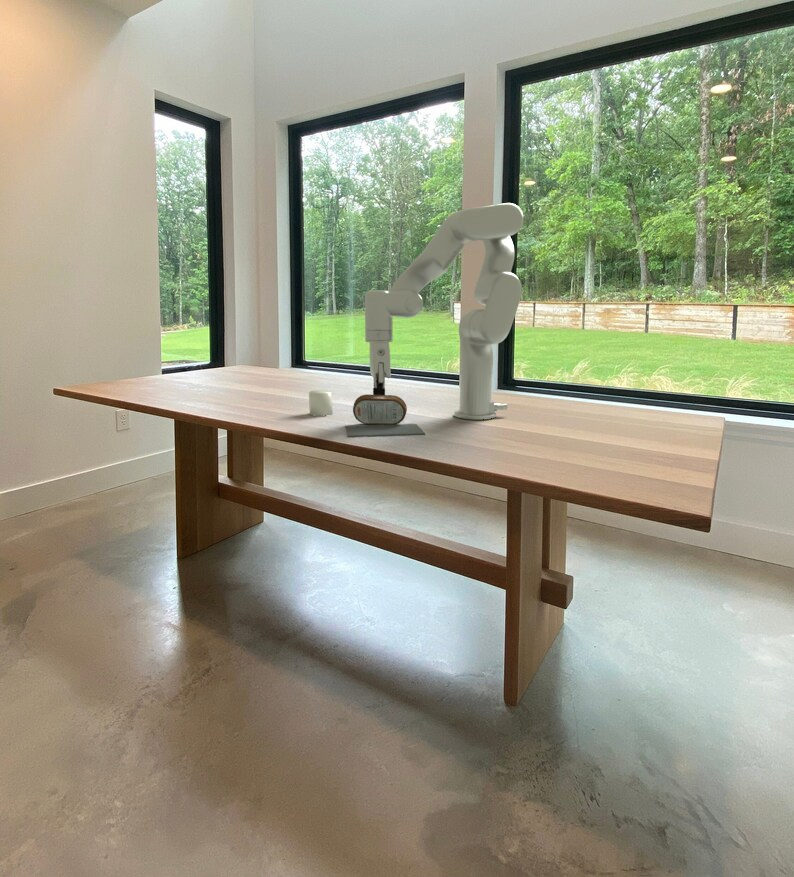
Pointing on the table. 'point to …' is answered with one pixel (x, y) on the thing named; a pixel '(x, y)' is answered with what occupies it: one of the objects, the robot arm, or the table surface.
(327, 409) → the white rounded cube
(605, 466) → the table surface
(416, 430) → the mat
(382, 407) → the tin
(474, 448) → the table surface
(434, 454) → the table surface
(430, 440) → the table surface
